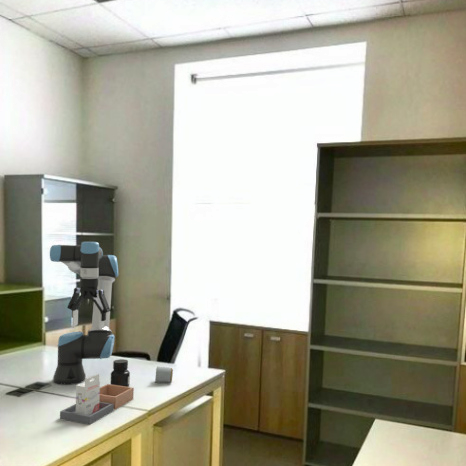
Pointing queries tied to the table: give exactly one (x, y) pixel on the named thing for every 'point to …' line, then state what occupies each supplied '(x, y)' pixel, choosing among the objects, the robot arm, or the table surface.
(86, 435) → the table surface
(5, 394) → the table surface
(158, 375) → the ceramic mug
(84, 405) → the ink cartridge box
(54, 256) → the robot arm
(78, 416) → the tray
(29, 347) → the table surface
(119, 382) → the ink bottle
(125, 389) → the square wooden frame
